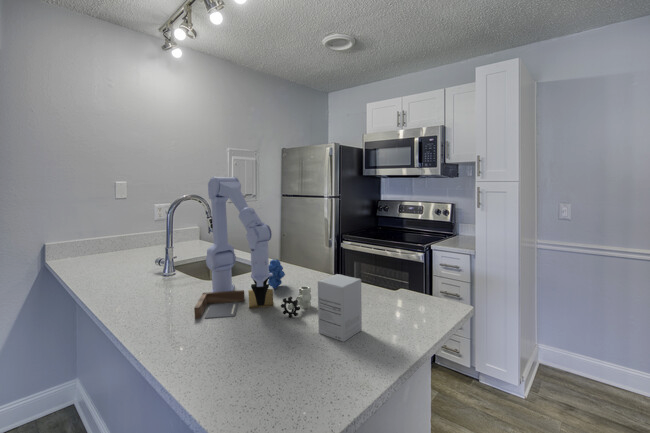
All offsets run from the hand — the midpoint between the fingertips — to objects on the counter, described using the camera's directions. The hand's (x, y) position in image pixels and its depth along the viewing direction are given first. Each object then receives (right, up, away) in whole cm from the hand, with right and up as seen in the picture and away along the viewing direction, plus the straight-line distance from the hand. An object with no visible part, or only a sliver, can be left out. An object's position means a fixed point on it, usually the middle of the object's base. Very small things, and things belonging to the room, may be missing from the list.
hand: (261, 300), depth 110 cm
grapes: (+3, 0, +19) cm, 19 cm away
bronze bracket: (0, -2, +2) cm, 3 cm away
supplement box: (+26, -4, -18) cm, 32 cm away
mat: (-12, -2, -3) cm, 13 cm away
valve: (+13, -3, -3) cm, 14 cm away
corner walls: (-13, -2, -1) cm, 13 cm away
